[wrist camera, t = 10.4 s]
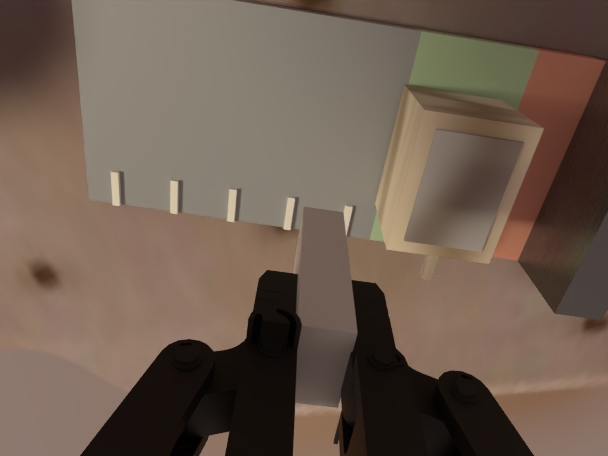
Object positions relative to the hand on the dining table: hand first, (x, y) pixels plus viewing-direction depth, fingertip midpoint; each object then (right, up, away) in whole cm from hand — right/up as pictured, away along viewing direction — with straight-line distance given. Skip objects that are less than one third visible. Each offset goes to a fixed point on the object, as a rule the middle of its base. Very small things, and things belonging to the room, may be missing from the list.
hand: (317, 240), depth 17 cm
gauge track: (+1, +7, +14) cm, 16 cm away
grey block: (+18, +5, +15) cm, 23 cm away
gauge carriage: (+8, +4, +12) cm, 15 cm away
